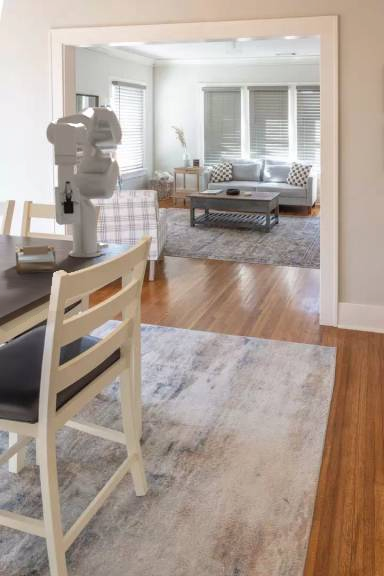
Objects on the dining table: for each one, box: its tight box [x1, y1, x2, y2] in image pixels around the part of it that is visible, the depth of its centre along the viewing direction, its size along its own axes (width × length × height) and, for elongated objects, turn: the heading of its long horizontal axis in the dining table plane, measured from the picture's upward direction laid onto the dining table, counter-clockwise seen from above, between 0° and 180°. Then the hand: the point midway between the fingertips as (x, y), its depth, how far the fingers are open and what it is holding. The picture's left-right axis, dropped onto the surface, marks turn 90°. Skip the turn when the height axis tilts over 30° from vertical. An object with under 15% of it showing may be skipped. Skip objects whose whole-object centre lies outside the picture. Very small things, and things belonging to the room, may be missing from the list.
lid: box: [18, 245, 55, 263], centre depth 190 cm, size 13×11×3 cm
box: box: [15, 244, 57, 274], centre depth 203 cm, size 13×13×7 cm
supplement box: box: [54, 186, 80, 226], centre depth 201 cm, size 7×7×13 cm
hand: (67, 211), depth 202 cm, fingers closed on supplement box, 7 cm apart
